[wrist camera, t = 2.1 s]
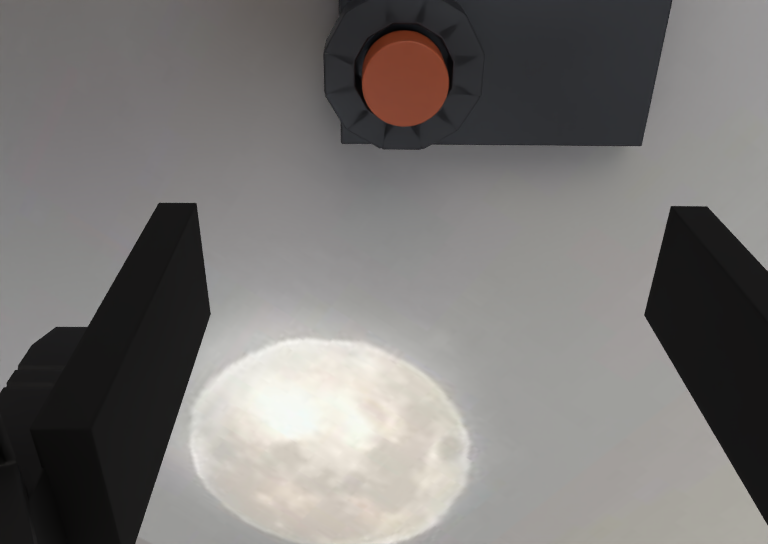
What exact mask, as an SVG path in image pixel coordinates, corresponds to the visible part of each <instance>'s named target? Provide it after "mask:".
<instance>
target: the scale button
mask: <svg viewBox="0 0 768 544" xmlns="http://www.w3.org/2000/svg"><path fill="white" fill-rule="evenodd" d="M448 89H449V76H448V71H447V68H446V65H445V62H444V59H443V57H442V54H441V52H440V50H439V49H438V47H437V46H436V45H435V43H434V42H433V41H432V40H431V39H429V38H428V37H426V36H425V35H423V34H421V33H418V32H415V31H411V30H398V31H393V32H390V33H388V34H386V35H384V36H382V37H381V38H379V39H378V40H377V41H376V42H374V44H373V45H372V46H371V47H370V49H369V50H368V52H367V54H366V56H365V59H364V61H363V66H362V91H363V96H364V99H365V101H366V103H367V105H368V107H369V108H370V110H371V111H372V112H373V113H374V115H376V116H377V117H378V118H379V119H381V120H382V121H384V122H386V123H388V124H391V125H395V126H401V127H408V126H415V125H418V124H421V123H423V122H425V121H427V120H429V119H430V118H432V117H433V116H434V115H435V114H436V113H437V112H438V111H439V110H440V108H441V107H442V105H443V104H444V102H445V100H446V97H447V94H448Z"/></svg>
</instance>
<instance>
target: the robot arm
mask: <svg viewBox="0 0 768 544" xmlns="http://www.w3.org/2000/svg"><path fill="white" fill-rule="evenodd" d="M210 314H211V313H210V306H209V298H208V290H207V282H206V274H205V266H204V259H203V251H202V243H201V235H200V227H199V220H198V212H197V204H196V203H159V204H158V205H157V207H156V209H155V211H154V212H153V214H152V216H151V218H150V219H149V221H148V223H147V225H146V226H145V228H144V230H143V232H142V233H141V235H140V237H139V239H138V240H137V242H136V244H135V245H134V247H133V249H132V251H131V252H130V254H129V256H128V258H127V259H126V261H125V263H124V265H123V266H122V268H121V270H120V272H119V273H118V275H117V277H116V279H115V280H114V282H113V284H112V286H111V287H110V289H109V291H108V293H107V294H106V296H105V298H104V300H103V301H102V303H101V305H100V307H99V308H98V310H97V312H96V314H95V315H94V317H93V319H92V321H91V322H90V324H89V326H88V327H55V328H54V329H53V330H51V331H50V332H49V333H47V334H46V335H45V336H43V337H42V338H41V339H39V340H38V341H37V342H35V343H34V344H33V345H32V346H31V347H30V349H29V350H28V352H27V353H26V355H25V356H24V358H23V359H22V361H21V362H20V364H19V365H18V370H15V371H14V373H13V374H12V376H11V377H10V379H9V380H8V382H7V387H4V388H3V389H2V391H1V392H0V544H135V542H136V539H137V536H138V533H139V530H140V527H141V524H142V521H143V518H144V515H145V512H146V509H147V506H148V503H149V500H150V497H151V494H152V491H153V488H154V485H155V482H156V479H157V476H158V472H159V469H160V466H161V463H162V460H163V457H164V454H165V451H166V448H167V445H168V442H169V439H170V436H171V433H172V430H173V427H174V424H175V421H176V418H177V415H178V412H179V409H180V406H181V403H182V400H183V396H184V393H185V390H186V387H187V384H188V381H189V378H190V375H191V372H192V369H193V366H194V363H195V360H196V357H197V354H198V351H199V348H200V345H201V342H202V339H203V336H204V333H205V330H206V327H207V323H208V320H209V317H210ZM644 316H645V317H646V319H647V321H648V322H649V324H650V326H651V327H652V329H653V331H654V333H655V334H656V336H657V338H658V339H659V341H660V343H661V344H662V346H663V348H664V350H665V351H666V353H667V355H668V356H669V358H670V360H671V361H672V363H673V365H674V367H675V368H676V370H677V372H678V373H679V375H680V377H681V378H682V380H683V382H684V384H685V385H686V387H687V389H688V390H689V392H690V394H691V396H692V397H693V399H694V401H695V402H696V404H697V406H698V407H699V409H700V411H701V413H702V414H703V416H704V418H705V419H706V421H707V423H708V424H709V426H710V428H711V430H712V431H713V433H714V435H715V436H716V438H717V440H718V441H719V443H720V445H721V447H722V448H723V450H724V452H725V453H726V455H727V457H728V458H729V460H730V462H731V464H732V465H733V467H734V469H735V470H736V472H737V474H738V476H739V477H740V479H741V481H742V482H743V484H744V486H745V487H746V489H747V491H748V493H749V494H750V496H751V498H752V499H753V501H754V503H755V504H756V506H757V508H758V510H759V511H760V513H761V515H762V516H763V518H764V520H765V521H766V523H767V525H768V271H767V270H766V269H765V268H764V267H763V266H762V265H761V264H760V263H759V262H758V261H757V259H756V258H755V257H754V256H753V255H752V254H751V253H750V252H749V251H748V250H747V249H746V248H745V247H744V246H743V245H742V243H741V242H740V241H739V240H738V239H737V238H736V237H735V236H734V235H733V234H732V233H731V232H730V231H729V230H728V228H727V227H726V226H725V225H724V224H723V223H722V222H721V221H720V220H719V219H718V218H717V217H716V216H715V215H714V213H713V212H712V211H711V210H710V209H709V208H708V207H702V206H671V208H670V212H669V216H668V220H667V224H666V229H665V233H664V237H663V241H662V245H661V249H660V253H659V257H658V261H657V265H656V269H655V273H654V278H653V282H652V286H651V290H650V294H649V298H648V302H647V306H646V310H645V314H644Z"/></svg>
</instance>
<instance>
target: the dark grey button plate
mask: <svg viewBox="0 0 768 544" xmlns="http://www.w3.org/2000/svg"><path fill="white" fill-rule="evenodd" d="M671 4H672V0H339V18H338V19H337V21H336V23H335V25H334V27H333V29H332V30H331V32H330V34H329V36H328V38H327V40H326V44H325V49H324V91H325V96H326V98H327V99H328V101H329V103H330V104H331V106H332V108H333V109H334V111H335V113H336V114H337V116H338V117H339V119H340V121H341V143H342V144H373V145H375V146H376V147H378V148H382V149H407V150H420V149H424V148H426V147H428V146H430V145H432V144H444V145H569V146H641V145H642V141H643V137H644V132H645V127H646V122H647V118H648V113H649V108H650V103H651V99H652V94H653V89H654V85H655V80H656V75H657V70H658V66H659V61H660V56H661V51H662V47H663V42H664V37H665V32H666V28H667V23H668V18H669V14H670V9H671ZM398 30H411V31H415V32H418V33H421V34H423V35H425V36H426V37H428V38H429V39H431V40H432V41H433V42H434V43H435V45H436V46H437V47H438V49H439V50H440V52H441V54H442V57H443V59H444V62H445V65H446V68H447V71H448V76H449V89H448V94H447V97H446V100H445V102H444V104H443V105H442V107H441V108H440V110H439V111H438V112H437V113H436V114H435V115H434V116H433V117H432V118H430V119H429V120H427V121H425V122H423V123H421V124H418V125H415V126H408V127H401V126H395V125H391V124H388V123H386V122H384V121H382V120H381V119H379V118H378V117H377V116H376V115H374V113H373V112H372V111H371V110H370V108H369V107H368V105H367V103H366V101H365V99H364V96H363V91H362V66H363V61H364V59H365V56H366V54H367V52H368V50H369V49H370V47H371V46H372V45H373V44H374V42H376V41H377V40H378V39H379V38H381V37H382V36H384V35H386V34H388V33H390V32H393V31H398Z"/></svg>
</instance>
